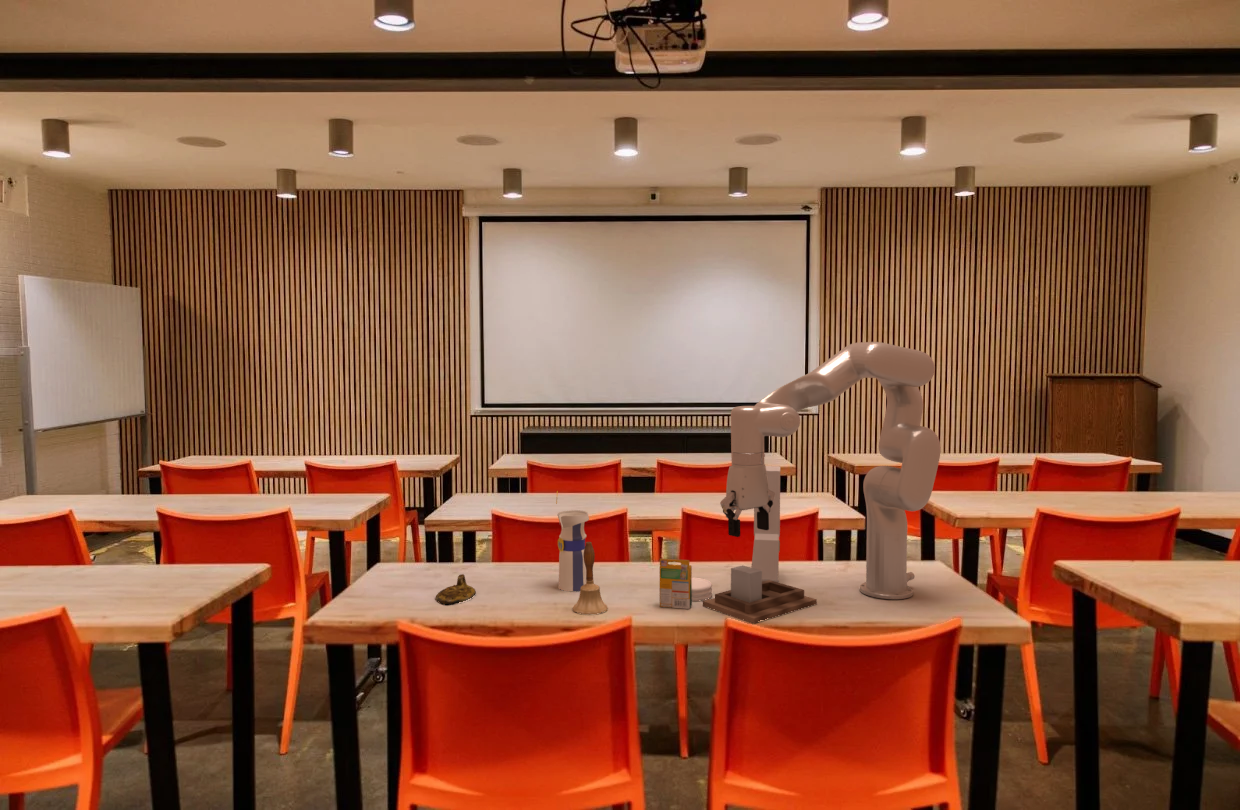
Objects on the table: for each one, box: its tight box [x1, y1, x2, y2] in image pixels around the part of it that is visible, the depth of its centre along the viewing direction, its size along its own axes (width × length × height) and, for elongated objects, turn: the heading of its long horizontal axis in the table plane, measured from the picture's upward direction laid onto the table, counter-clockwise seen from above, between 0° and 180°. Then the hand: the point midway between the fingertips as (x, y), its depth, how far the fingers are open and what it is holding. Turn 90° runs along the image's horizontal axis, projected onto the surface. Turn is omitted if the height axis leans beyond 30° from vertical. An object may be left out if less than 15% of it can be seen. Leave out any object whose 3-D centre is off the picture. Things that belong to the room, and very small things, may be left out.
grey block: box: [730, 565, 762, 603], centre depth 183 cm, size 4×6×8 cm, turn 38°
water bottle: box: [555, 490, 590, 592], centre depth 201 cm, size 8×9×25 cm
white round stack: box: [692, 577, 713, 602], centre depth 194 cm, size 10×10×4 cm
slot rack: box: [702, 580, 818, 624], centre depth 186 cm, size 22×16×3 cm
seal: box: [435, 573, 477, 605], centre depth 194 cm, size 9×5×15 cm
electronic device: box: [750, 465, 781, 583], centre depth 209 cm, size 12×8×30 cm, turn 168°
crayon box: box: [659, 558, 693, 610], centre depth 185 cm, size 7×3×12 cm, turn 75°
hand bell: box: [572, 541, 609, 615], centre depth 183 cm, size 8×8×16 cm
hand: (748, 532), depth 182 cm, fingers open, 9 cm apart
